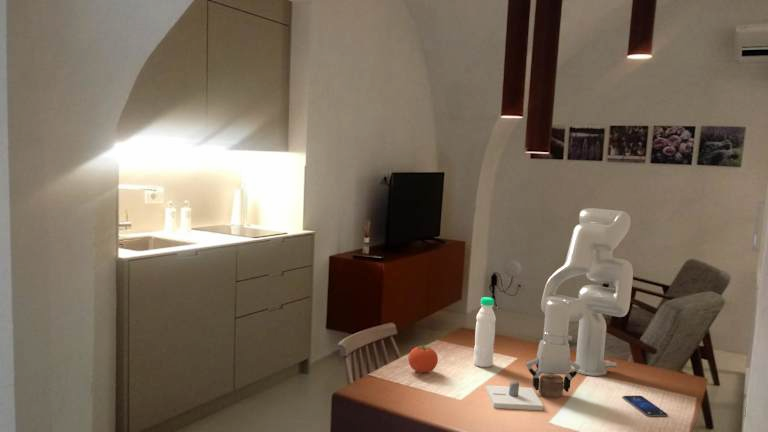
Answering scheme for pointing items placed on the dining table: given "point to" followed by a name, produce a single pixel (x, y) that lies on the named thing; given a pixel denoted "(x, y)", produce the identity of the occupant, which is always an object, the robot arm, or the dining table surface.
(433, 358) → the tomato
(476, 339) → the water bottle
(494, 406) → the plate
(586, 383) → the dining table surface
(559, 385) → the brown short cylinder
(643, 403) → the smartphone
